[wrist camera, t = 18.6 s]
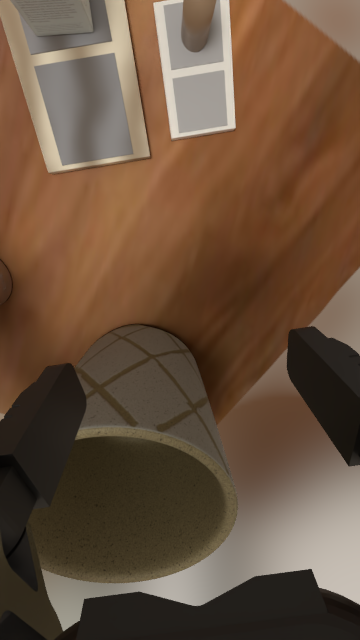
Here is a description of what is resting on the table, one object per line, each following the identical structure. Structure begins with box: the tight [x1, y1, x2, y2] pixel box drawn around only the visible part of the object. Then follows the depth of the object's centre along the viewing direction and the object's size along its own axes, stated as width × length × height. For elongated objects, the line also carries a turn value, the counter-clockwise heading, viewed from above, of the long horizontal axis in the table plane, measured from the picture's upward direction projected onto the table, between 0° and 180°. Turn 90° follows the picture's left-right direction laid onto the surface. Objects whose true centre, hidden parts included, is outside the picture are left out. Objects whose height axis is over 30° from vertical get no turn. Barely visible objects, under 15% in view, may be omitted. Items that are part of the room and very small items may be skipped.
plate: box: [153, 0, 236, 141], centre depth 26 cm, size 8×12×7 cm, turn 8°
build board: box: [0, 0, 150, 174], centre depth 28 cm, size 13×21×1 cm, turn 8°
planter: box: [28, 324, 238, 583], centre depth 34 cm, size 23×23×24 cm
